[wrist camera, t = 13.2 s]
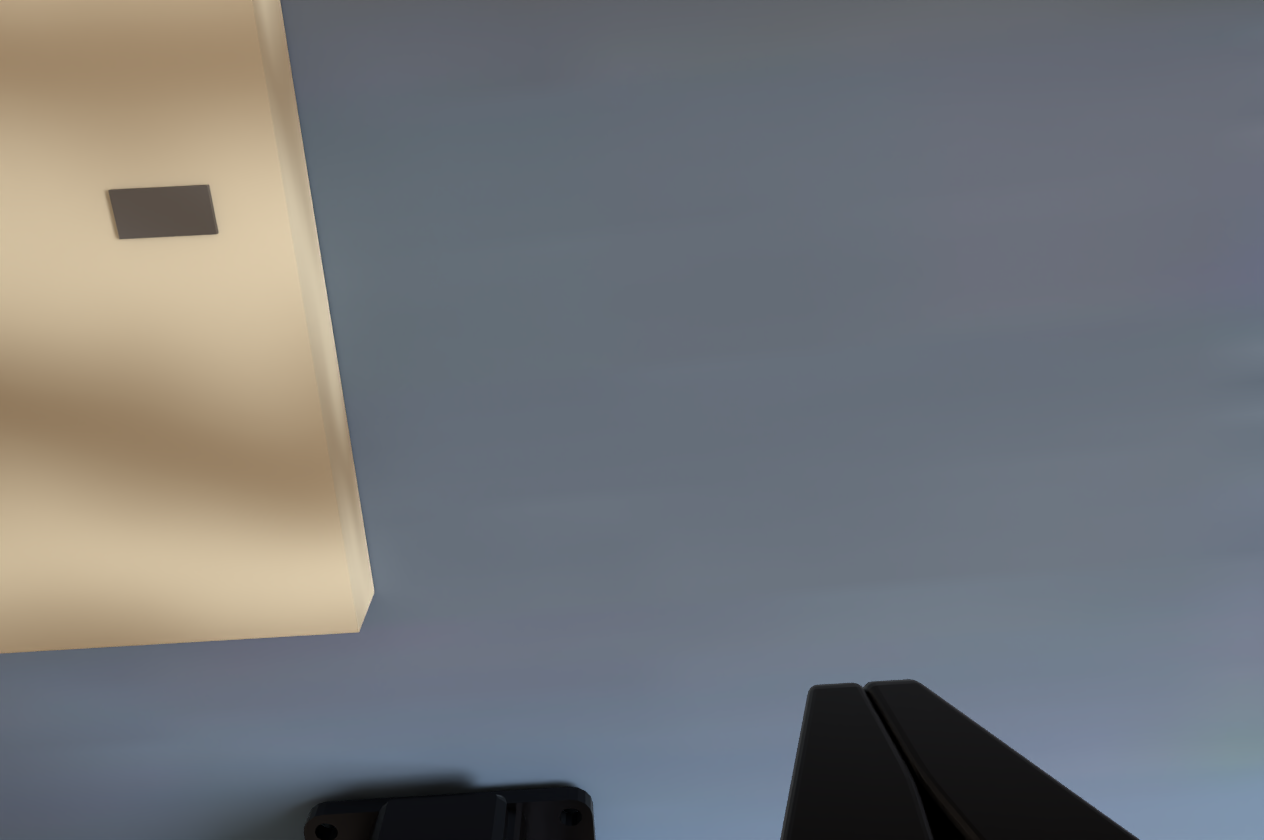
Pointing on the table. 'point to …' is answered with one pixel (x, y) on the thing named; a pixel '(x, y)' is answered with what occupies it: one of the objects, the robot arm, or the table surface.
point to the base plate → (165, 337)
